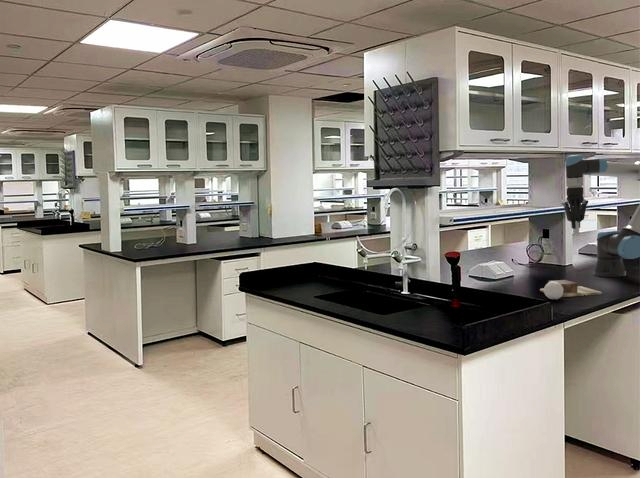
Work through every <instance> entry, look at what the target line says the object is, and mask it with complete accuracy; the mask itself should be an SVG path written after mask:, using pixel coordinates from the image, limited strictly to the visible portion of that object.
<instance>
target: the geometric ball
mask: <svg viewBox="0 0 640 478" xmlns="http://www.w3.org/2000/svg"><path fill="white" fill-rule="evenodd" d="M550 281H551V282H549V283H548V282H547V283H546V284H545V286H544V288H543V289H544V292H543V293H544V295H545V296H546V297H547V298H548V299H550V300H554V299H555V300H559V299H560V298H562V297H561V296H562V295H563V287H562V285H560V284H559V283H558V282H553V281H554V280H550Z"/></svg>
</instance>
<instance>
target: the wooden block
mask: <svg viewBox="0 0 640 478" xmlns="http://www.w3.org/2000/svg"><path fill="white" fill-rule="evenodd" d="M551 281H553V282H558V283H559V284H560V285H562V287H563V293H574V292H577V286H578V283H577V282H574V281H570V280H567V279H560V280H559V279H557V280H548V281H547V283H549V282H551Z"/></svg>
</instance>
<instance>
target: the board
mask: <svg viewBox="0 0 640 478" xmlns="http://www.w3.org/2000/svg"><path fill="white" fill-rule="evenodd" d="M539 291H540V292H542V293H544V288H540V289H539ZM602 294H603V292H602V291H599V290H595V289H592V288H589V287H584V286H582V285H581V286H580V285H577V292H574V293H563V295H562V296H561V297H560V298H566V297H579V296H580V297H582V296H583V297H584V295H585V296H597V295H600V296H601V295H602Z"/></svg>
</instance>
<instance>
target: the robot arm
mask: <svg viewBox="0 0 640 478" xmlns="http://www.w3.org/2000/svg"><path fill="white" fill-rule="evenodd" d="M564 165H565V177H566V178H565V179H566V180H565V181H566V182H565V187H566V200H565V201H563V202H561V204H562V206H563V208H564V212H565V217H566V220H567V221H568V222H570V224H571V229H572V236H580V229H581V222H582V221H584V220H585V215H586V211H587V207H588V203H589V200H586V199H585V197H584V187H583V186H584V176H599V177H610V178H611V177H613V178H626V179H632V180H633V181H638V182H639V181H640V161H636V162H634V163H633V162H632V163H631V162H619V161H618V162H617V161H607V159H606V158H605V157H591V158H589V157H588V158H584V157H583V154H575V155H567V156H566V158H565V164H564ZM596 242H597V243H596V244H597V245H596V254H597V255H596V259H597V260H596V263H595V265H594V269H593V275H594V276H596V277H602V278H603V277H605V278H621V277H622V276H623V277H626V276H627V271H626V269H625V265H624V262H623V259H626V260H630V259H631V260H633V259H638V258H639V257H640V203H638V206H637V208H636V209H635V211H634V213H633V214H632V216H631V218H630V220H629V222H628V224H627V225H626V226H623V227H621V229H620V230H608V231H606V230H605V231H601V232H600V231H599V232H597V236H596Z"/></svg>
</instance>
